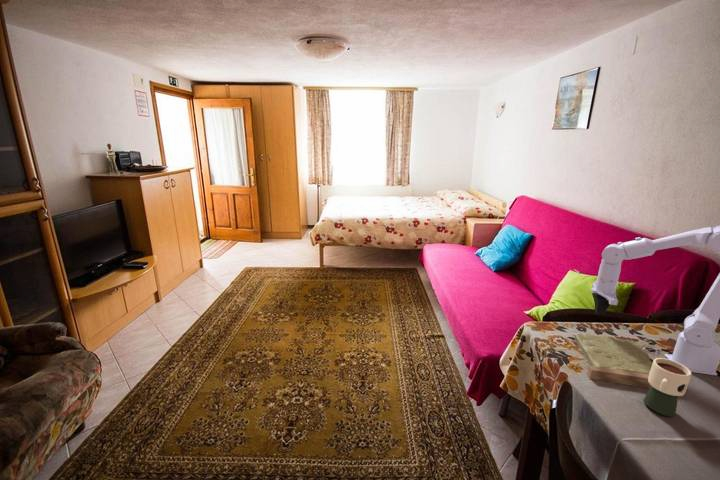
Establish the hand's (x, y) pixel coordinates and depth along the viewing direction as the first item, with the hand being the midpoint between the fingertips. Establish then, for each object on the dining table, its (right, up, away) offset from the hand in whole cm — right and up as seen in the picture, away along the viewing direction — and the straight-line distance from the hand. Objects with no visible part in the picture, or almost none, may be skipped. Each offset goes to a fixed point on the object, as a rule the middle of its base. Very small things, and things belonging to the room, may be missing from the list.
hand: (599, 314), depth 116 cm
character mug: (-7, -18, -30) cm, 36 cm away
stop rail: (-6, -15, -21) cm, 27 cm away
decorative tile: (-3, -13, -11) cm, 17 cm away
